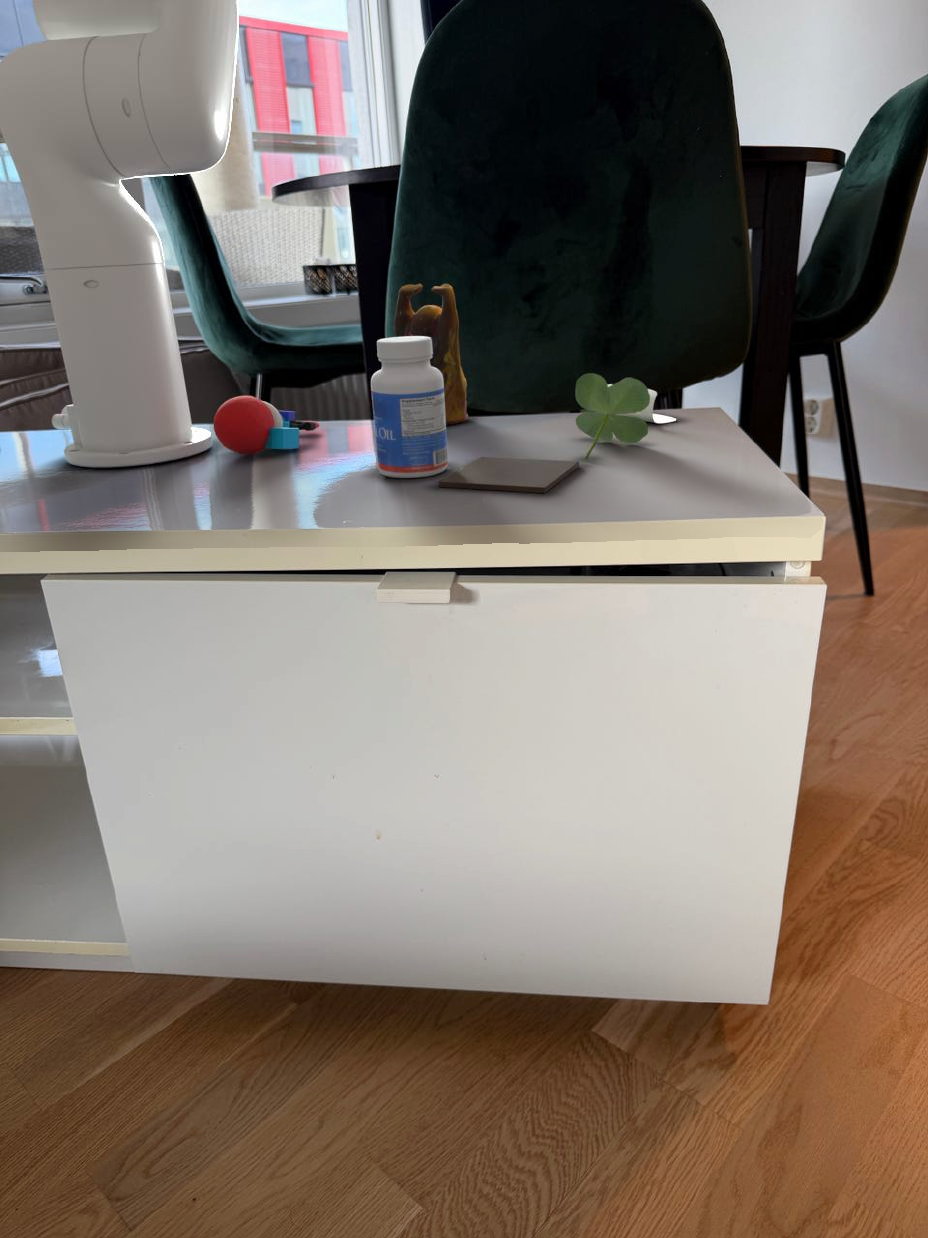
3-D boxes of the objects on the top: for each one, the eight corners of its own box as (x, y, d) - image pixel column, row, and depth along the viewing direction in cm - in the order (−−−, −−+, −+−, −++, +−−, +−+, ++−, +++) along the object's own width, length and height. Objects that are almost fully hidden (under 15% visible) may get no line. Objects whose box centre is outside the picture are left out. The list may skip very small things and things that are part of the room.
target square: (438, 486, 63) (438, 481, 62) (481, 461, 69) (481, 456, 69) (545, 493, 60) (544, 487, 59) (579, 466, 66) (579, 461, 66)
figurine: (472, 414, 90) (464, 279, 85) (463, 426, 83) (454, 282, 79) (411, 416, 90) (400, 283, 86) (398, 428, 84) (385, 286, 79)
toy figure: (254, 446, 87) (185, 453, 73) (254, 395, 86) (184, 392, 72) (328, 451, 86) (273, 459, 72) (329, 400, 85) (273, 397, 71)
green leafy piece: (593, 510, 73) (618, 454, 76) (649, 465, 66) (675, 406, 69) (523, 460, 71) (551, 406, 74) (573, 410, 64) (602, 352, 67)
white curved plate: (624, 409, 88) (625, 378, 86) (682, 419, 81) (683, 386, 80) (595, 414, 86) (595, 383, 85) (652, 425, 80) (653, 391, 78)
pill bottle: (370, 468, 69) (358, 338, 65) (435, 459, 71) (427, 333, 67) (389, 483, 64) (378, 344, 61) (458, 473, 66) (451, 338, 62)
